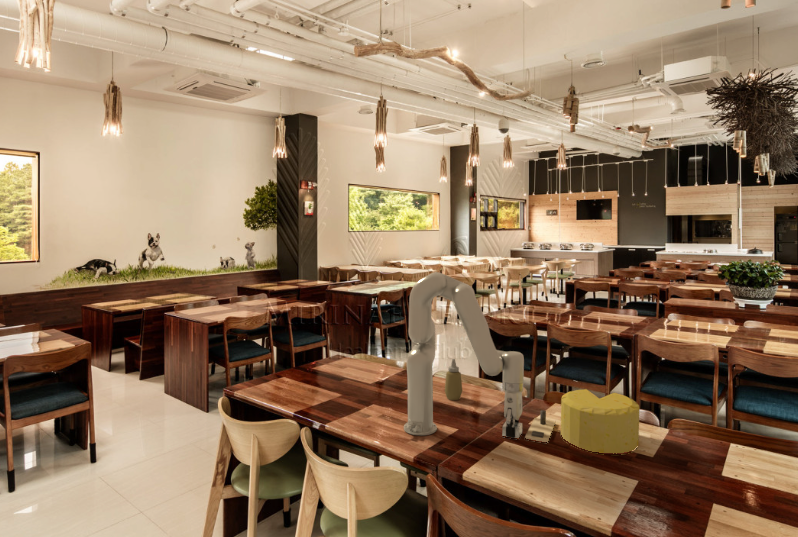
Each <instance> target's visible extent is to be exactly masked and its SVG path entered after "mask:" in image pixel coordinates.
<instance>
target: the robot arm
mask: <svg viewBox="0 0 798 537" xmlns="http://www.w3.org/2000/svg"><path fill="white" fill-rule="evenodd" d="M438 296H440V297H442V298H444V299H446V300H449V301H451V302H452V303H453V304H452V305H453V306H454V309H455V311H456V313H457V314H458V317H459V320H460V321H461V323H462V326H463V329H464V330H465V333H466V335H467V338H468V341H469V343H470V344H471V347H472V349H473V352H474V354H475V357H476V358H477V360H478V363H479V365H480V368H481V369H482V371H483V372H484V374H486V375H488V376H491V377H493V376H498V375H499V374H500V373H501V372H502V391H504V408H503V414H504V418H505V422H506V437H511V438H515V427H514V422H517V423H520V417H521V416H522V413H523V393H522V392H524V381H525V380H524V376H525V375H524V372H525V371H524V369H525V367H524V366H525V359H524V356H525V355H524V354H523V353H521V352H520V351H514V350H513V351H511V350H509V351H504V350H499V349H497V348H496V346H495V343H494V341H493V338H492V336H491V332H490V328H489V325H488V322H487V319H486V317H485V314H484V313H483V311H482V308H481V305H480V304H479V302H478V300H477V297H476V294H475V290H474V288H473V287H472V286H471V285H470V284H468V283H465V282H463V281H460V280H458V279H455V278H454V277H451V276H449V275H447V274H444V273H442V272H438V271H436V272H431V273H429V274H428V275H426V276H424V277H422V278H421V279H419V280H418V281H417V282H416V283H415V284H414V285H413V286H412V289H411V290H410V293H409V300H408V301H409V302H408V307H409V308H408V337H409V338H410V340H411V350H410V351H409V353H408V355H407V359H406V374H407V422H406V423H404V425H403V430H404V432H405V433H408V434H409V435H413V436H429V435H432V434H434V433H435V432H437V430H438V425H436V423H434V414H433V413H434V412H433V411H434V400H433V399H434V398H433V397H434V395H433V394H434V382H433V381H434V380H433V378H434V377H433V374H434V373H433V364H434V361H435V357H436V324H435V322H434V320H433V319H432V310H433V306H432V302H433V299H434V298H436V297H438ZM511 438H510V439H511Z"/></svg>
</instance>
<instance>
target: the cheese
mask: <svg viewBox="0 0 798 537" xmlns="http://www.w3.org/2000/svg"><path fill="white" fill-rule="evenodd" d="M560 399H561V400H560V404H561V405H560V436H561V435H562V437H563V439H565V440H566V441H568V442H569V443H571V444H573V445H575V446H577V447H579V448H582V449H585V450H588V451H592V452H599V453H613V454H614V453H616V454H617V453H624V452H629V451H632V450H634V449H635V448H636V447H637V446H638V447H639V439H640V438H639V436H640V405H639V404H638V402H636V401H635V400H634V399H633V398H631V397H628V396H626V395H623V394H620V393H619V392H618V393H617V392H613V393H610V394H607V395H605V396H603V397H600V398H599V397H598V396H597V395H595V394H594V393H592V392H591V391H590V390H588V389H587V388H585V389H575V390H571V391H568V392H566V393H565V394H563V395H562V396H561V398H560ZM562 437H561V438H562ZM563 439H562V440H563ZM588 451H587V452H588ZM592 452H591V453H592Z"/></svg>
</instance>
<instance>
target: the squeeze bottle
mask: <svg viewBox="0 0 798 537" xmlns="http://www.w3.org/2000/svg"><path fill="white" fill-rule="evenodd" d="M447 368H448V371H446V373H445V383H444V384H445V385H444V394H445V397H446V399H447V400H450V401H458V400H460V399H461V396H462V393H463V381H462V373H461V372H460V368H459V366H457V363H456V359H455V358H453V359H451V364H450V366H448V367H447Z"/></svg>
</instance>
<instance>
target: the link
mask: <svg viewBox="0 0 798 537" xmlns="http://www.w3.org/2000/svg"><path fill="white" fill-rule="evenodd" d="M514 427H515V438H519V437H520V435H521V434H522V435H523V422H519V423H517V422H514ZM501 428H502V436H506V421H505V422H503V425H502V427H501ZM522 435H521V436H522ZM502 436H501V437H502ZM520 438H521V437H520Z"/></svg>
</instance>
